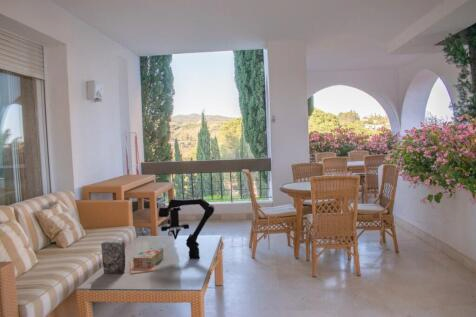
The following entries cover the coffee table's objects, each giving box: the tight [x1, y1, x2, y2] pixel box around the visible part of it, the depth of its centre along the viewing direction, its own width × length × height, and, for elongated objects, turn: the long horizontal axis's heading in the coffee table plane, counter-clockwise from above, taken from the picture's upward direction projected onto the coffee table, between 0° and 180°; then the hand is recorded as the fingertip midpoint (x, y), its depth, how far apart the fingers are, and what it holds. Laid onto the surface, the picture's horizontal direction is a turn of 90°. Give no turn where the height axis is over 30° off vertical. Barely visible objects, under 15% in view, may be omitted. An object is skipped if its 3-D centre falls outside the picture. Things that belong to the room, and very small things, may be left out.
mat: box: [129, 259, 158, 275], centre depth 245 cm, size 16×26×1 cm, turn 17°
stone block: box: [101, 239, 126, 275], centre depth 234 cm, size 13×7×20 cm, turn 87°
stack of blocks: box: [132, 247, 164, 268], centre depth 251 cm, size 21×6×12 cm
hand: (175, 239), depth 259 cm, fingers closed
